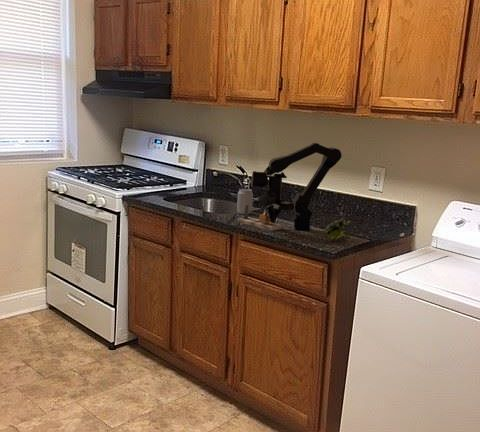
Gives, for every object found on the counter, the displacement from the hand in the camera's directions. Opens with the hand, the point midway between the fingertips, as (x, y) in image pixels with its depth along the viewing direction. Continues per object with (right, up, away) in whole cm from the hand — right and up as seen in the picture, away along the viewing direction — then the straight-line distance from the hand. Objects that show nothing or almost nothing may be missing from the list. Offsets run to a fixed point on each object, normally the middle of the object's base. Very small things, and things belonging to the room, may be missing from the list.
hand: (272, 222), depth 238 cm
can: (-12, +4, +31) cm, 33 cm away
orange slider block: (-3, 0, +3) cm, 4 cm away
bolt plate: (-6, -1, +6) cm, 8 cm away
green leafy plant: (+26, -7, -14) cm, 30 cm away
